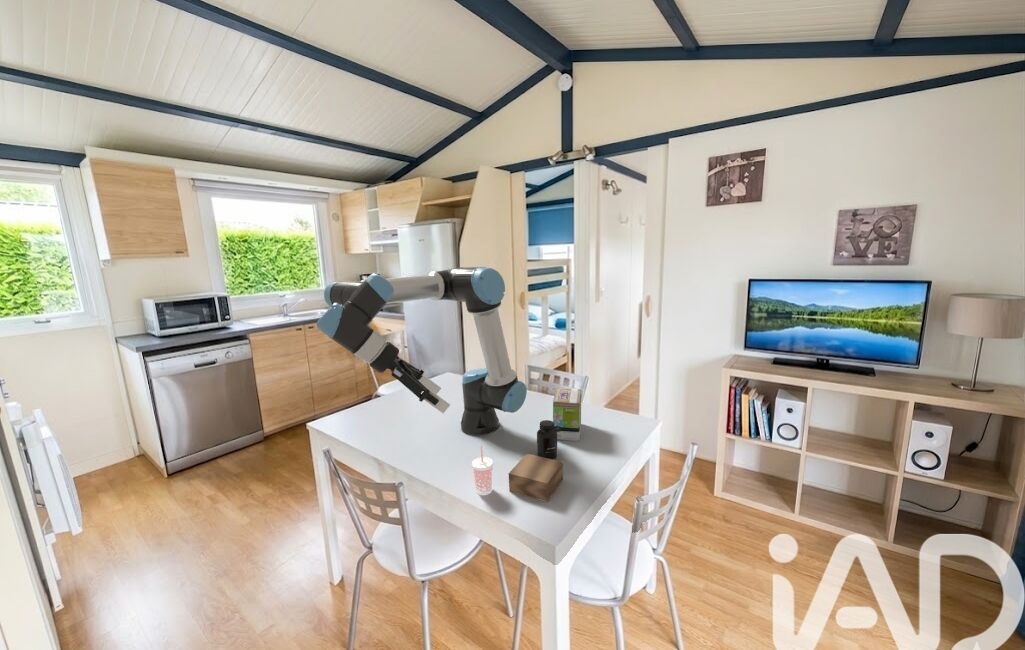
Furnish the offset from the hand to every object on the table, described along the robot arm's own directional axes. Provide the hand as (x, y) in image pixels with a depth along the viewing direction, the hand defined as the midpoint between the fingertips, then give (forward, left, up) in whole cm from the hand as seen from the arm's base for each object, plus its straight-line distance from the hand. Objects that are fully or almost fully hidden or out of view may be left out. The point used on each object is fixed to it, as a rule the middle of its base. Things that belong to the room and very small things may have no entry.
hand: (442, 399), depth 106 cm
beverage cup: (+6, +8, -30) cm, 32 cm away
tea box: (+11, +54, -30) cm, 63 cm away
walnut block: (+18, +18, -30) cm, 39 cm away
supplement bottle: (+13, +34, -30) cm, 47 cm away
